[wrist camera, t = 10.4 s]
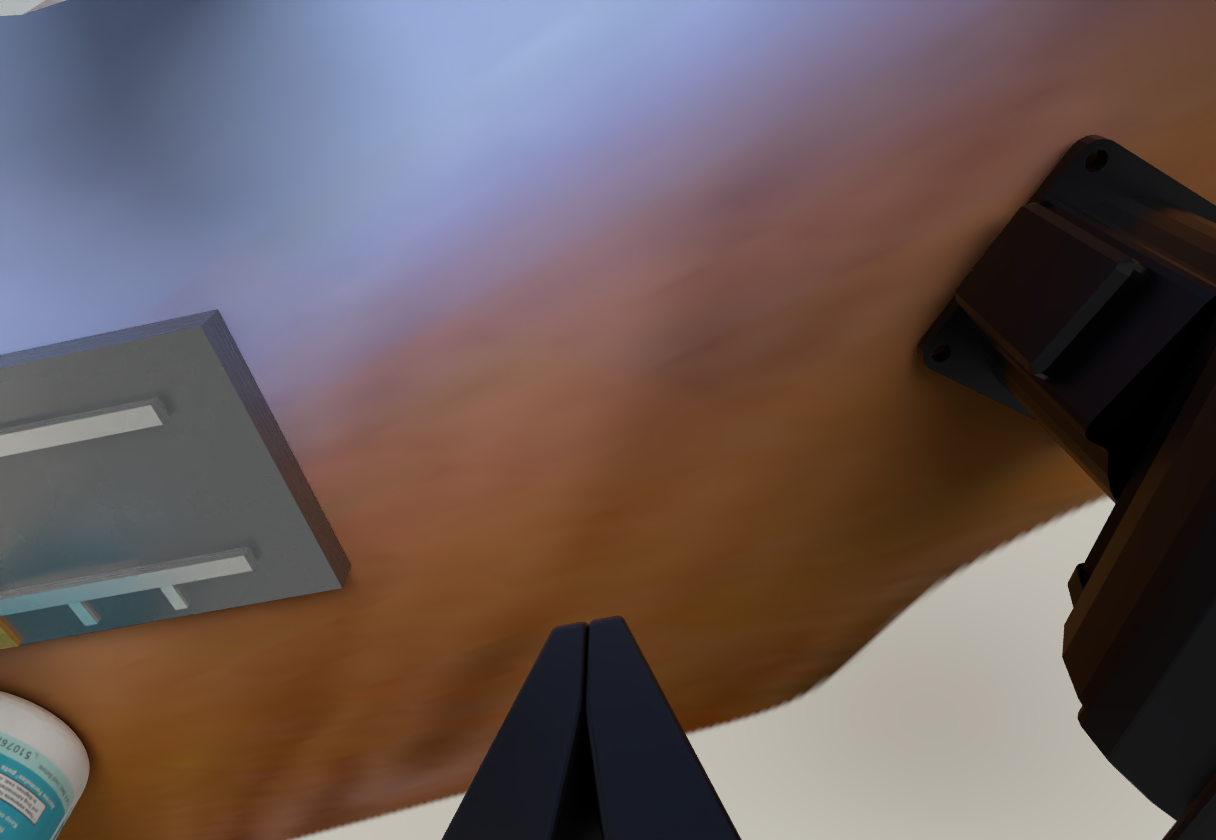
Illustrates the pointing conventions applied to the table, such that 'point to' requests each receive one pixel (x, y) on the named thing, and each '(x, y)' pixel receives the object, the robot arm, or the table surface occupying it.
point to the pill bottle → (37, 771)
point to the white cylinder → (24, 6)
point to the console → (147, 485)
